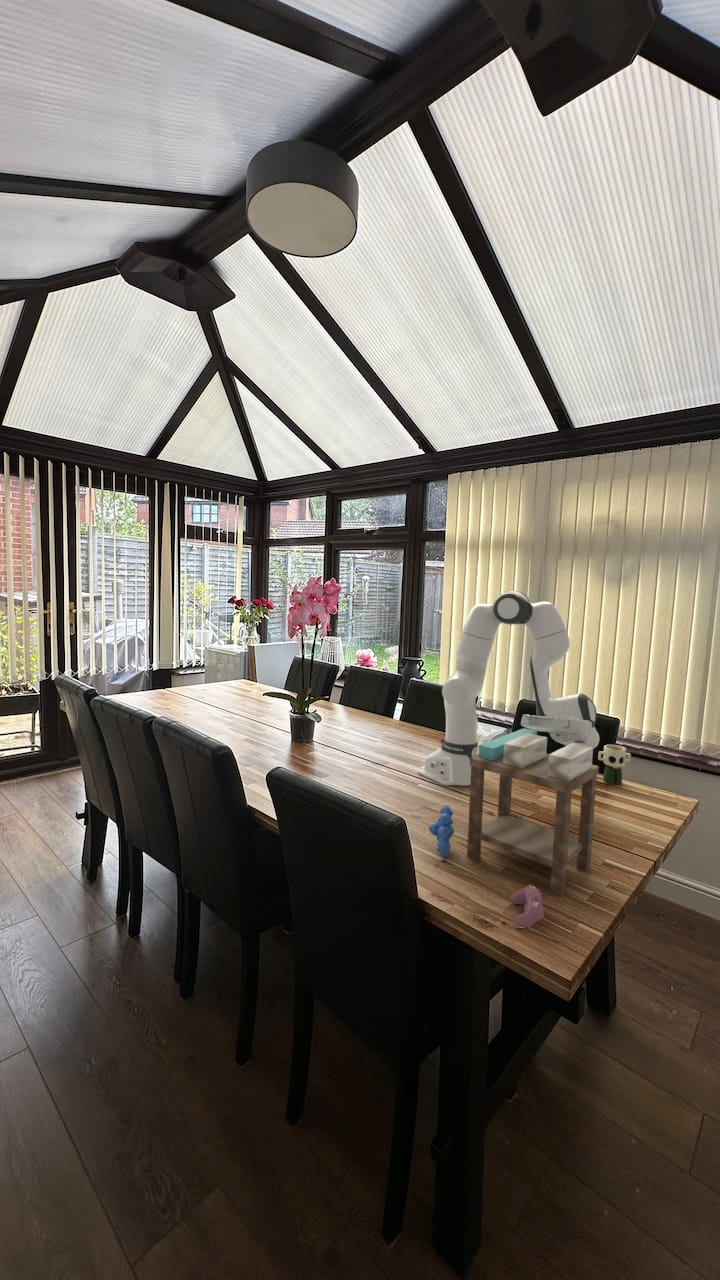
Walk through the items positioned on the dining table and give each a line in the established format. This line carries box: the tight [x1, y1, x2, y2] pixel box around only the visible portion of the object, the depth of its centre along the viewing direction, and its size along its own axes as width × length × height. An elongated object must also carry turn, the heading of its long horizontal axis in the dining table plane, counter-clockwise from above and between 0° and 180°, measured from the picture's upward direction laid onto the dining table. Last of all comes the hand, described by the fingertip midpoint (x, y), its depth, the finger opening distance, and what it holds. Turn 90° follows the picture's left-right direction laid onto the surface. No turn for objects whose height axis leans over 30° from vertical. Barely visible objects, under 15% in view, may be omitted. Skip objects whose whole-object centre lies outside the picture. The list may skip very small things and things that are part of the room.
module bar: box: [478, 727, 538, 760], centre depth 141 cm, size 4×24×3 cm, turn 136°
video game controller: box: [509, 884, 545, 929], centre depth 110 cm, size 10×5×7 cm, turn 169°
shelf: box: [466, 733, 600, 897], centre depth 131 cm, size 25×18×31 cm
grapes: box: [428, 804, 456, 858], centre depth 137 cm, size 12×7×12 cm, turn 166°
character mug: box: [597, 744, 632, 785], centre depth 189 cm, size 11×7×13 cm, turn 82°
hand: (540, 718), depth 157 cm, fingers open, 8 cm apart
